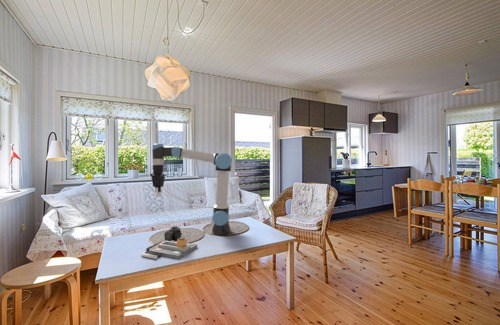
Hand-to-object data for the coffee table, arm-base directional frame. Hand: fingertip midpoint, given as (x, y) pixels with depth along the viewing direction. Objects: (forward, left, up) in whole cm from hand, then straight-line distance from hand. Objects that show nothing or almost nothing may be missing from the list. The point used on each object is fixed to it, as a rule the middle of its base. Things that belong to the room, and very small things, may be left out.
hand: (158, 196), depth 178 cm
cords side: (+14, +11, -32) cm, 37 cm away
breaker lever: (+13, +31, -30) cm, 45 cm away
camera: (-4, +11, -33) cm, 35 cm away
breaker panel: (+13, +25, -32) cm, 43 cm away
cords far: (+26, +18, -32) cm, 46 cm away
